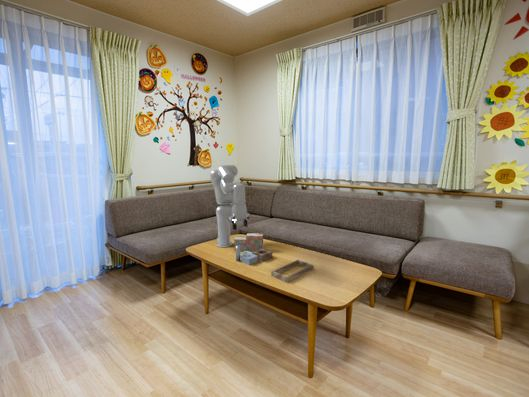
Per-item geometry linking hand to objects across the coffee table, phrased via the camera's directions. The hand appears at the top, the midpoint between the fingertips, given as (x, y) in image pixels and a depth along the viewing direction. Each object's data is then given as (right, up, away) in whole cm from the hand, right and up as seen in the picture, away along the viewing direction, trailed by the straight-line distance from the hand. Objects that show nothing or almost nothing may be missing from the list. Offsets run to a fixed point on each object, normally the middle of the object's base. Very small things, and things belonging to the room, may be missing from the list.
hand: (240, 228), depth 186 cm
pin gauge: (-2, -23, +4) cm, 23 cm away
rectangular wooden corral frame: (+34, -26, -16) cm, 45 cm away
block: (+6, -23, +2) cm, 24 cm away
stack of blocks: (+5, -19, +24) cm, 31 cm away
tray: (+3, -21, +12) cm, 24 cm away
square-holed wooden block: (+15, -22, +9) cm, 27 cm away
